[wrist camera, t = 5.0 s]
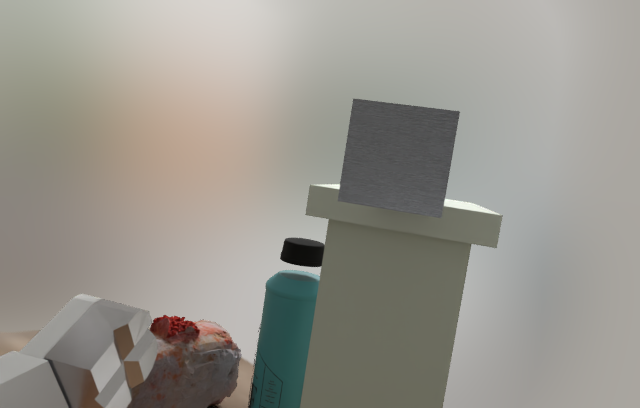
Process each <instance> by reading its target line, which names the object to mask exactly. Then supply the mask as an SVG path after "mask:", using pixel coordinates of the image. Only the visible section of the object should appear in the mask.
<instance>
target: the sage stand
mask: <svg viewBox="0 0 640 408" xmlns="http://www.w3.org/2000/svg"><path fill="white" fill-rule="evenodd" d="M339 189H340V184H326V185H325V184H324V185H310V188H309V195H308V202H307V208H306V215H309V216H315V217H321V218H326V219H329V222H328V229H327V235H326V242H325V248H324V254H323V261H322V268H321V274H320V280H319V287H318V293H317V300H316V306H315V313H314V319H313V326H312V332H311V339H310V345H309V352H308V358H307V365H306V371H305V378H304V384H303V391H302V397H301V404H300V408H442V407H443V402H444V396H445V390H446V385H447V379H448V373H449V367H450V362H451V356H452V351H453V345H454V340H455V334H456V328H457V322H458V316H459V311H460V306H461V300H462V294H463V288H464V283H465V277H466V272H467V266H468V260H469V255H470V249H471V244H476V245H482V246H487V247H493V248H497V243H498V238H499V232H500V227H501V221H502V215H500V214H498V213H495V212H493V211H490V210H488V209H486V208H483V207H481V206H478V205H476V204H473V203H469V202H462V201H455V200H449V199H445V201H444V206H443V212H442V218H437V217H430V216H424V215H418V214H412V213H406V212H400V211H394V210H388V209H382V208H376V207H370V206H364V205H358V204H352V203H346V202H340V201H338V195H339Z"/></svg>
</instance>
